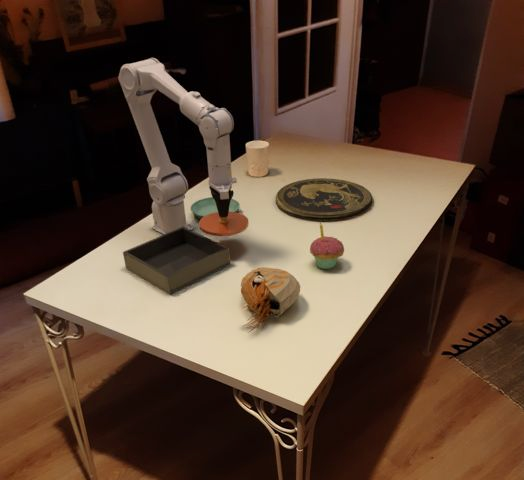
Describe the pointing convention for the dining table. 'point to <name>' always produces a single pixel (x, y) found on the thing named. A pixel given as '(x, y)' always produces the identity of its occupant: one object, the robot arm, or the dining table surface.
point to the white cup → (257, 158)
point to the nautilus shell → (269, 292)
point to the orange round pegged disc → (223, 224)
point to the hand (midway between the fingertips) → (223, 214)
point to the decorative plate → (324, 199)
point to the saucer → (210, 207)
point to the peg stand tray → (176, 259)
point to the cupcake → (326, 250)
